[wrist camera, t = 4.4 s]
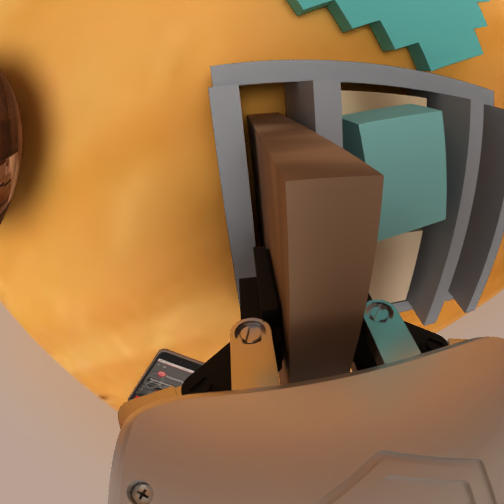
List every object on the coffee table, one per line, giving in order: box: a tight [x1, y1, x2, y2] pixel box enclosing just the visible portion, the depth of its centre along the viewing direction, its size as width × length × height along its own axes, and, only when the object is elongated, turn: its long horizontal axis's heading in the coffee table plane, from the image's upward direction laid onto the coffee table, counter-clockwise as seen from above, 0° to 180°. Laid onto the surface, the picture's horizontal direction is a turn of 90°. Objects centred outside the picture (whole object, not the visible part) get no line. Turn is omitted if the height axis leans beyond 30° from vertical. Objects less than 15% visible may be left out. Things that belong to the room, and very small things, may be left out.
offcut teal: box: [342, 104, 447, 242], centre depth 14 cm, size 5×6×3 cm
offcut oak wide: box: [341, 90, 427, 115], centre depth 17 cm, size 6×8×4 cm
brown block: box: [247, 113, 384, 385], centre depth 14 cm, size 2×12×14 cm, turn 6°
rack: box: [208, 60, 504, 326], centre depth 17 cm, size 19×18×7 cm
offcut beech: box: [369, 228, 423, 303], centre depth 20 cm, size 6×6×5 cm
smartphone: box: [128, 349, 204, 401], centre depth 32 cm, size 7×1×15 cm
